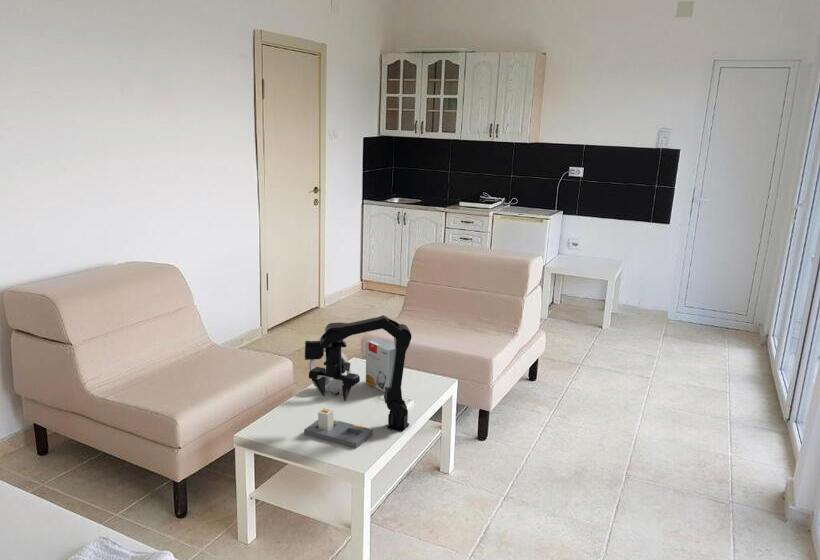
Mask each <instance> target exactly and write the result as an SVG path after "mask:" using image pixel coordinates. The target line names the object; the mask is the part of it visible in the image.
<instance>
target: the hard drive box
mask: <svg viewBox="0 0 820 560" xmlns="http://www.w3.org/2000/svg"><path fill="white" fill-rule="evenodd" d="M365 341H366V342H365V350H366V351H365V383H366V384H368V385H369V386H370V387H373V388H376V389H378V390H379V391H380V392H382V393H385V387H389V385H390V383H391V376H392V368H393V361H394V353H395V343H393V342H391V341H389V340H386V339H384V338H381V337H375V338H371V339H368V340H365Z"/></svg>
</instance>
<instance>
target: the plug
mask: <svg viewBox="0 0 820 560" xmlns="http://www.w3.org/2000/svg"><path fill="white" fill-rule="evenodd" d="M317 415H318V418H317V420H318V429H322V430H325V431H329V430H331V429H332V428H333V420H334V409H329V408H323V409H321V410H320V411H318V412H317Z"/></svg>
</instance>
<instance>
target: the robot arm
mask: <svg viewBox="0 0 820 560" xmlns="http://www.w3.org/2000/svg"><path fill="white" fill-rule="evenodd" d="M378 330H384V331H385V332H387V333H388V334H389V335H390V336H392V337H393V342H394V343H393V344H395V353H394V361H393V368H392V376H391V383H390V385H389V387H385V392H384V393H383V399H384V403H385V404H386V407H387V409H388V410H389V413H388V414H387V415H388V418H387V420H388V421H387V423H388V425H387V426H386V428H387V429H390V430H394V431H399V432H403V431H405V430H406V429H407V428H408V427H409V426H410V423H409V422H408V421H409V420H408V419H409V410H408V408H407V405H406V402H405V400H404V399H403V395H402V383H403V382H402V381H403V374H404V369H405V361H406V360H405V359H406V353H407V350H408V349H409V346H410V344H411V340H412V332H411V331H410V328H409V327H408V326H407V325H406V324H404V323H403V324H402V323H398V321H396V320H393V319H391V318H389V317H388V316H386V315H384V314H383V315H380V316H377V317H371V318H368V319H362V320H358V321H352V322H330V323H328V324H327V325H326V326H325V329H324V333H323V334H322V336H321V337H319V340H305V341H304V342H305V343H304V345H305V346H304V360H305V361H310V360H314V361H315V360H321V359H323V357H324V355H325V361H324V362H323V365H324V366H325V367H321V366H316V367H314V369H312V370H310V369H309V372H308V379H310V380H311V382H313V381H314V383H315V384H316V386H317V387H318V389H319V390H320V391H319V390H318V391H319V393H320V394H321V396H322V397H325V396H326V390H325V379H326V377H327V378H331V380H332V379H337V380H342V381H343V384H344V385H343V386H342V390H343V393H342V395H343V396H342V398H343V401H344V402H346V401H347V399H348V397H349V393H350V391H351V389H352V388H353V387H354V386H356V385H357V384H359V383H360V382H361V381H360V379H361V377H360V375H359V374H357V373H352V372H351V373H349V374H348V375H347V374H345V373H346V371H349V369H350V370H351V362H349V361H348V362H349V363H348V362H344V360H343V359H342V358H341V352H342V348H347V342H346V341H344V340H345V339H347V338H348V337H351V336H354V335H359V334H363V333H369V332H372V331H378ZM323 348H325V352H324V350H323ZM324 353H325V354H324ZM342 373H343V374H345V375H346V376H345V375H342ZM317 387H316V388H317Z"/></svg>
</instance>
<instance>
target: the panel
mask: <svg viewBox="0 0 820 560" xmlns="http://www.w3.org/2000/svg"><path fill="white" fill-rule="evenodd" d="M303 434H304V435H305V436H308V437H312V438H316V439H320V440H323V441H327V442H331V443H335V444H339V445H342V446H345V447H349V448H354V449H358V448H359V447H360V446H362V444H364V442H366V441H367V440H368V439H369V438H371V437H372V436H373V435H374V430H373V428H369V427H365V426H361V425H357V424H352V423H349V422H345V421H341V420H338V419H337V420H336V419H333V428H332V429H331V430H329V431H325V430H322V429H318V419H317V420H315V421H314V422H313V423H311V424H310V425H308V426H307V427H306V428H304V429H303ZM347 434H353V435H356V436H355V437H352V436H347Z"/></svg>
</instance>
